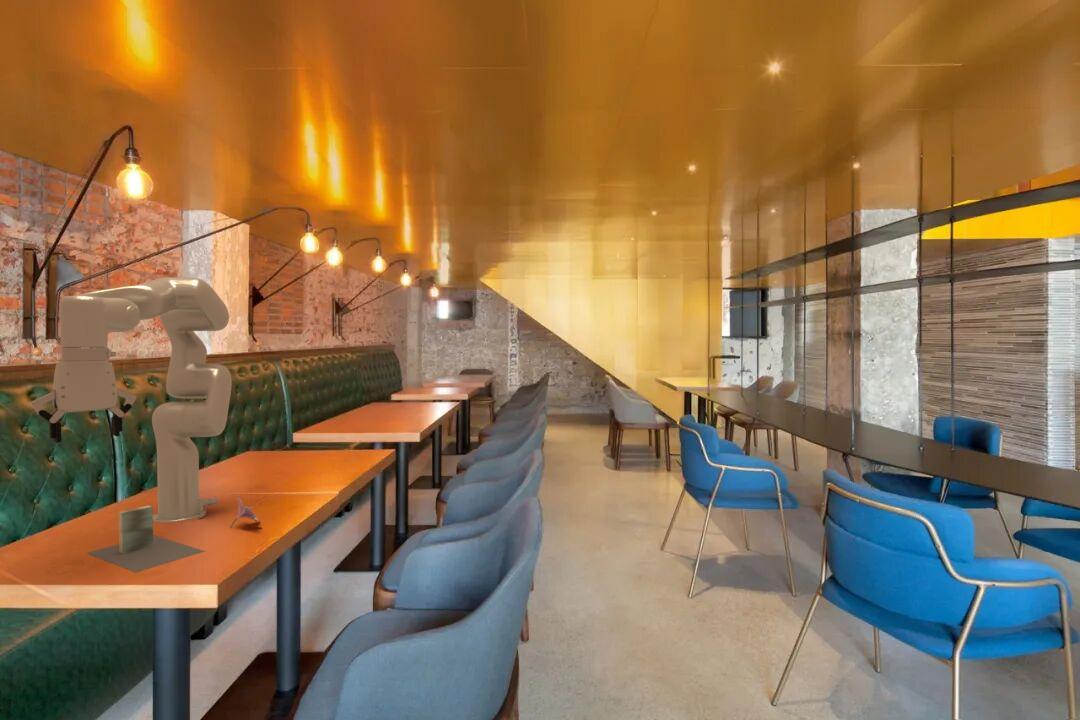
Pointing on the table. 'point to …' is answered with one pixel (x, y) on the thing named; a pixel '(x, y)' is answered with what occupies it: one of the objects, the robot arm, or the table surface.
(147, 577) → the table surface
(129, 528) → the tile
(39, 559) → the table surface
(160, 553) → the mat
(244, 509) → the lily
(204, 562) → the table surface
